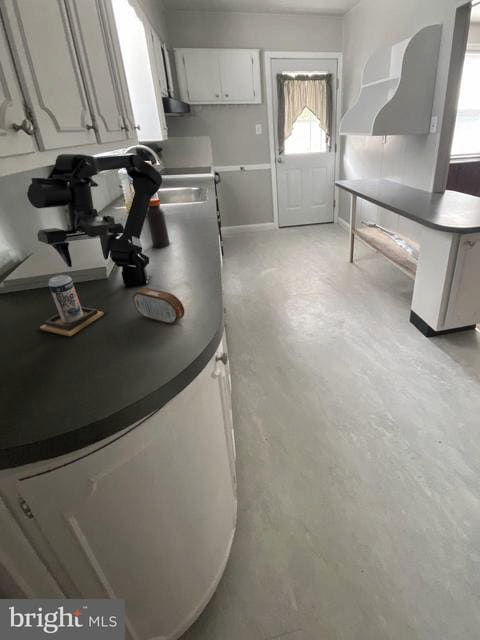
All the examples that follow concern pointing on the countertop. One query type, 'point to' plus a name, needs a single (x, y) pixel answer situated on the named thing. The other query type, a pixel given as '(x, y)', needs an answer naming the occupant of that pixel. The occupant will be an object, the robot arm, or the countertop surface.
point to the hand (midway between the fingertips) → (88, 262)
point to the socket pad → (73, 327)
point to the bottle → (157, 224)
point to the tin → (158, 305)
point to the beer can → (65, 298)
